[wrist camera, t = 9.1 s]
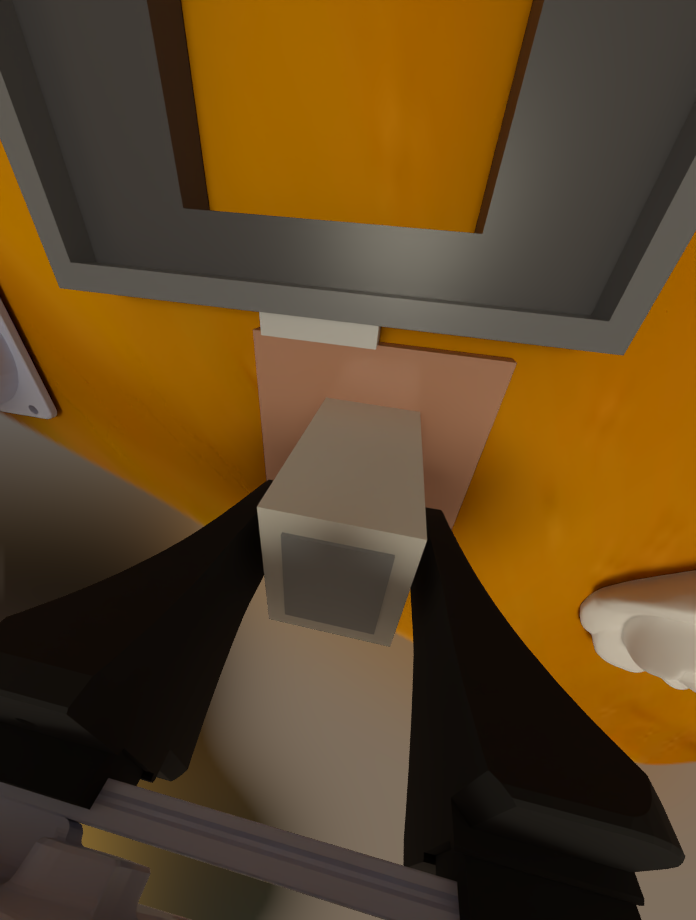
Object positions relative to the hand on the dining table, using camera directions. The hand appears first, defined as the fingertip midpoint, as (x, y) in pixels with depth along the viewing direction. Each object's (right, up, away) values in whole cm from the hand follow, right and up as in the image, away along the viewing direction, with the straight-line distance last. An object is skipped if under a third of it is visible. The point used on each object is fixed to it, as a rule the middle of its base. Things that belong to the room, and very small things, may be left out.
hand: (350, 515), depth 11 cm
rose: (+19, -6, +6) cm, 20 cm away
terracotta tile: (+1, +3, +4) cm, 5 cm away
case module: (+1, +2, +3) cm, 4 cm away
